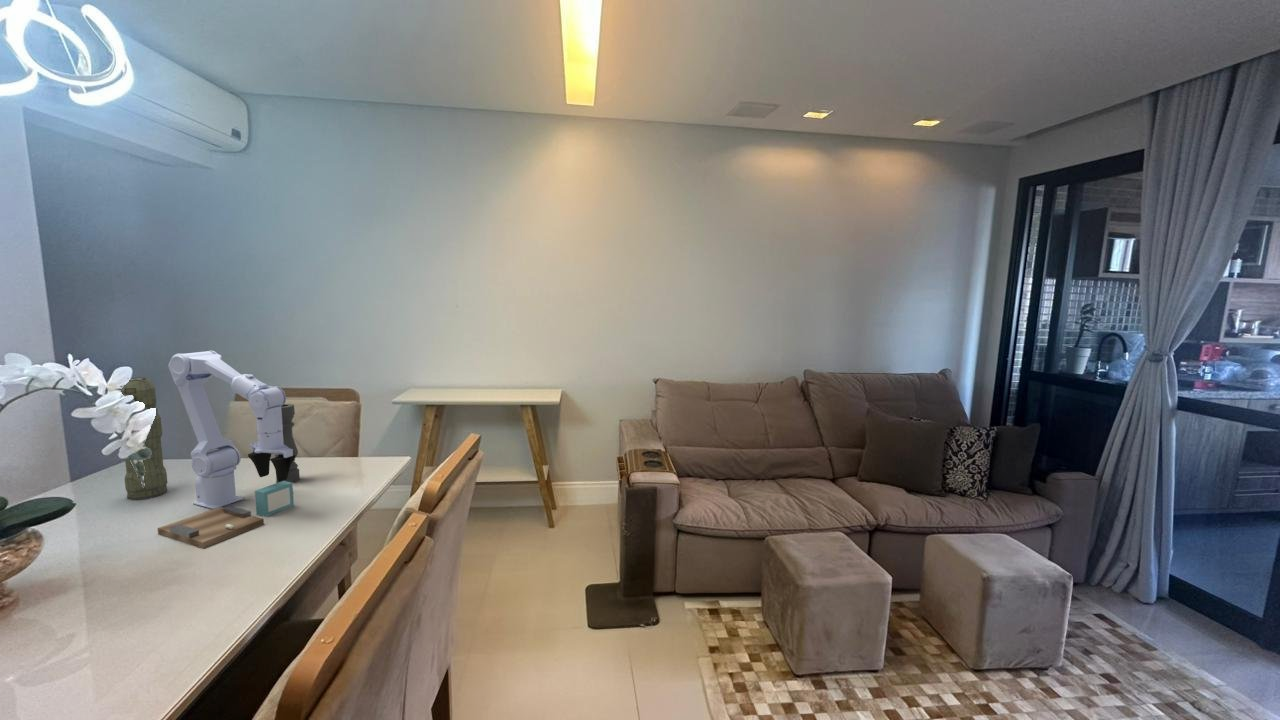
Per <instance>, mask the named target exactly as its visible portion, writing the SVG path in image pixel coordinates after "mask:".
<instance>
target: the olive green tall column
mask: <svg viewBox="0 0 1280 720" xmlns="http://www.w3.org/2000/svg"><path fill="white" fill-rule="evenodd" d="M130 378H131V379H130V380H129V382H128V383H127V384H126V385H125V386H124V387H123V388H122V389H121V392H122V394H123V395H133V396H134V400H135V401H139V402H143V403H144V404H145V409H150V408H156V416H155V419H154V421H153V424H152V426H151V429H150V432H149V434H148V436H147V439H146V442H145V445H146V447H148V448H150V449H151V451H152V455H151V458H150V459H146V460H143V463H144V466H145V471H146V472H145V475H144V483H145V488H143V487H142V484H141V480H140V479H139V478H138V477H137V474H136V472H135V470H134V468H133V466H132V464H131V462H130V459H125V458H124V461H125V470H126V471H125V472H126V473H125V476H124V487H125V491H126V492H127V493H126V494H127V495H126V497H127V499H128V500H130V499H131V501H138V499H142V500H147V499H146V498H148V499H151V498H150V497H153V498H156V497H160V496H162V495H164V494H167V492H168V491H169V490H168V486H167V484H168V475H167V470H166V467H165V466H164V459H163V457H164V456H163V449H162V439H161V438H162V436H163V427H162V417H161V415H160V414H159V413H158V408H157V405H156V404H157V396H156V387H155V385H154V384H153V381H152V380H151V379H150V378H148V377H130ZM155 496H156V497H155Z"/></svg>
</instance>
